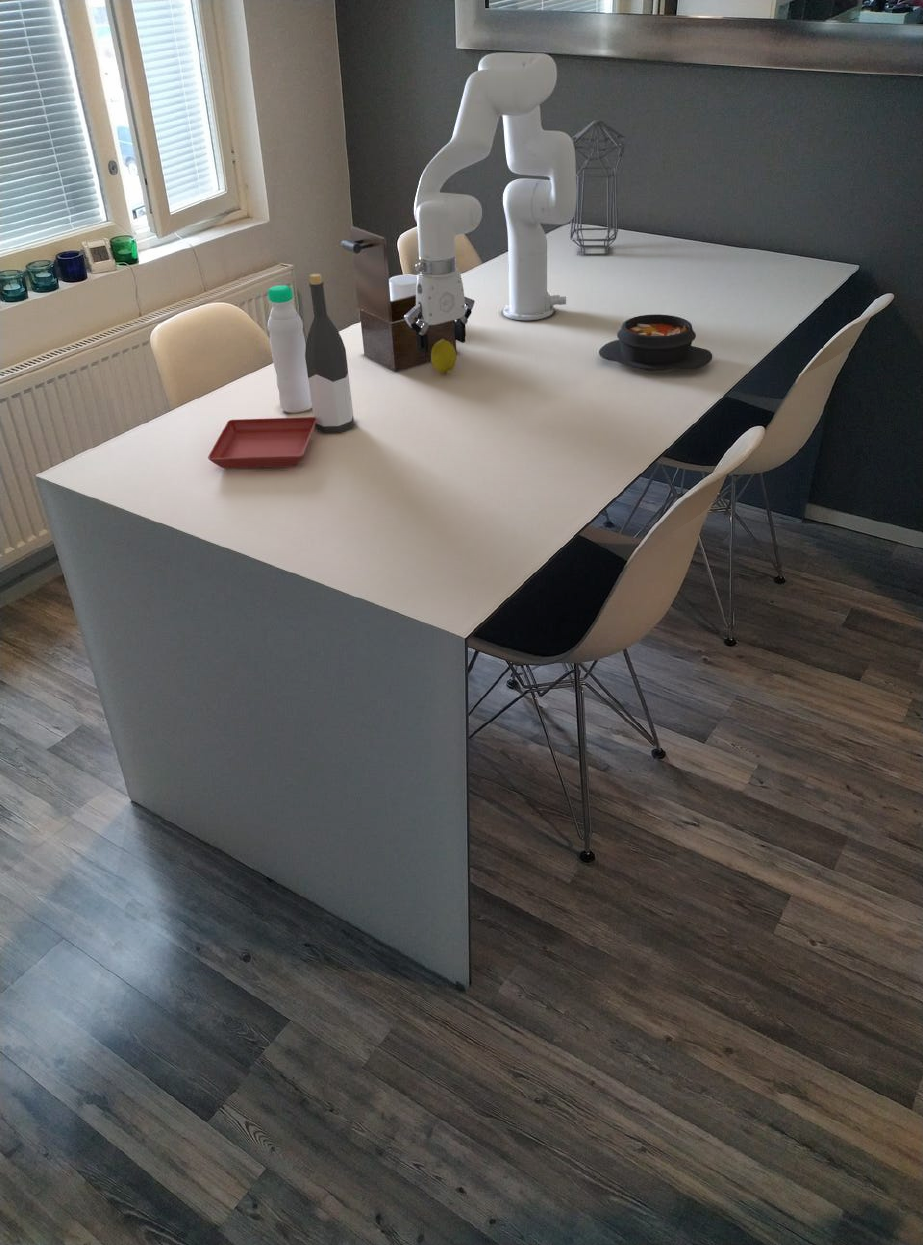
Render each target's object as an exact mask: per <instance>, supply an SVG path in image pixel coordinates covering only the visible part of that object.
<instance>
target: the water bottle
mask: <svg viewBox="0 0 923 1245" xmlns="http://www.w3.org/2000/svg"><path fill="white" fill-rule="evenodd" d="M267 295H268V300H269V303H270V304H271V305H272V308H271V310H270V313H269V318H268V320H267V330H268V333H269V342H270V350H271V356H272V362H273V366H274V367H273V368H274V371H275V375H276V387H277V390H278V397H279V398H278V400H279V406H280V408H281V410H283V411H284V412H285V413H291V414H297V413H305V412H307V411H309V410H310V409H311V408H312V402H311V395H310V388H309V381H308V374H307V367H306V360H305V349H306V339H305V334H304V330H303V328H304V323H303V320H302V318H301V316H300V314H299V313H298V312H297V310H296V308H295V307H294V306H293V301H294V299H293V298H294V294H293V289H292V287H291V286H289V285H285V284H284V285H283V284H282V285H280V284H279V285H274V286H272V287H270V288H269V289H268V290H267Z"/></svg>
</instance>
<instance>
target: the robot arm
mask: <svg viewBox="0 0 923 1245" xmlns="http://www.w3.org/2000/svg"><path fill="white" fill-rule="evenodd" d="M477 66H478V67H477V68H478V69H477V71H474V72H472V73H471V74H470V75H469V77H468V78H467V79H466V82H465V85H464V90H463V95H462V97H461V102H460V105H459V109H458V113H457V116H456V120H455V124H454V129H453V132H452V135H451V136H452V137H451V139H450V140H449V142H448V143H447V144H446V145H444V146H443V147H442V148H441V149H440V150H439V151H438V152H437V153H436V154H435V155H434V157H433V158H432V159H431V160H430V161H429V162H428V164H426V167H425V168H424V169H423V172H422V174H421V176H420V179H419V182H418V187H417V191H416V195H415V199H414V206H413V215H414V221H415V222H416V225H417V242H418V258H419V259H418V263H417V264H415V266H414V269H415V271H416V272H419V273H417V275H418V278H417V286H416V306H415V307H414V308H412V309H411V310H410V311H409V312H408V313H407V314H406V315H405V316H404V318H405V320H406V322H407V323H408V325H409V327H410V328H411V329H412V330H414V332H416V337H417V347H418V349H419V350H420V351H422V352H424V353H428V351H429V350H428V335H427V334H425V332H426V330H427V329H428V327H429V325H437V324H441V323H445V322H449V321H452V320H455V323H454V332H455V340H456V342H460V343H462V344H465V343H466V335H467V332H466V330H467V329H466V325H467V324H468V321H469V320H468V319H469V318H470V317H471V315H472V313H473V311H472V310H473V309H474V305H475V300H474V299H472V298H469V297H467V296H465V291H464V289H465V288H464V283H463V280H462V275H461V272H460V269H458V268H457V262H456V261H457V260H456V240H455V239H456V237H455V236H458V235H466V234H469V233H471V232H473V231H474V230H476V229H477V227H478V226H480V223H481V221H482V217H483V209H482V205H481V202H480V201H479V200H478V199H477V198H476V197H474V196H473V195H470V194H464V193H463V194H462V193H452V192H441V189H442V187H443V186H444V184H445V183H446V181H447V180H448V179H449V178H450V177H452V176H453V175H455V174H456V173H458V172H459V171H461V170H463V169H465V168H468V167H470V166H472V165H474V164H476V163H478V162H480V161H483V160H484V159H486V158H487V157H488V156H489V155H490V153H491V151H492V147H493V142H494V139H495V136H496V131H497V127H498V124H499V120H500V118H501V117H502V124H503V136H504V148H505V157H506V164H507V167H508V169H509V171H510V172H512V173H514V174H516V175H520V176H533V177H534V176H535V177H547V178H549V179H542V178H527V177H526V178H517V179H514V180H511V181H510V182H509V183H508V184H506V186H505V188H504V191H503V194H502V205H503V211H504V216H505V221H506V228H507V229H506V230H507V250H508V252H507V255H508V256H507V257H508V258H507V259H508V299H509V300H508V302H509V303H508V304H506V305H505V306H504V307H503V309H502V310H503V312H502V314H503V315H504V316H505V317H506V318H508V319H510V320H516V321H537V320H542V319H545V318H548V317H550V316H551V315H553V313H554V306H557V305H558V306H561V305H562V306H563V305H567V298H566V295H565V296H560V294H553V295H550V294H549V291H548V237H547V235H546V233H545V230H544V229H543V227H542V225H543V224H545V225H562V226H563V225H567V224H569V223H571V220H572V219H573V220H574V218H573V217H574V215H575V211H576V200H577V197H576V189H577V180H576V170H577V164H576V161H575V158H576V151H575V149H574V146H575V145H573V142H572V139H571V138H572V137H571V136H570V135H569V134H568V133H566V132H565V131H562V130H561V131H560V130H545V129H543V127H542V116H541V106H540V105H541V104H542V103H544V102H545V101H546V100H547V99H548V98H549V97H550V96H551V95H552V93H553V92H554V90H555V87H556V84H557V79H558V69H557V64H556V61H555V60H554V59H553V57H552V56H550V55H549V54H547V53H542V52H494V53H493V52H492V53H489V54H485V55H484V56H483V57H481V59H480V60H479V62H478V65H477ZM416 316H417V319H418V321H417V323H415V321H414V318H415V317H416Z"/></svg>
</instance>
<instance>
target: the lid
mask: <svg viewBox="0 0 923 1245" xmlns="http://www.w3.org/2000/svg"><path fill="white" fill-rule="evenodd" d="M349 232H350V233H349V234H350V240H349V239H347V238H346V239H343V240H342V241H341V248H342V249H343V250H346V251H348V252H351V254H352V263H353V264H352V265H353V275H354V284H355V294H356V306H357V308H358V309H362V310H364V311H366V312H369V313H371V314H373V315H375V316H377V317H379V318H381V319H384V320H386V321H388V322H392V311H391V298H390V285H389V279H390V273H389V262H388V261H389V260H388V250H387V238H386V237H385V236H381V235H379V234H376V233H373V232H371V231H368V230H365V229H362V228H360V227H358V226H354V225H351V226H349Z"/></svg>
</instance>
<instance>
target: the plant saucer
mask: <svg viewBox="0 0 923 1245" xmlns="http://www.w3.org/2000/svg"><path fill="white" fill-rule="evenodd" d="M316 421H317V418H316V417H314V416H311V417H309V416H308V417H307V416H305V417H276V418H275V417H274V418H272V417H271V418H244V419H229V420H227V421H226V424H225V426H224V427H223V429H222V430H221V433H220V435H219V436H218V438H217V440H216V441H215V443H214V445H213V447H212V449H211V450H210V453H209V454H208V456H207V459H208V460H209V461H210V462H211V463H213V464H214V465H216V466H218V467H220V468H222V469H250V468H251V469H252V468H253V469H257V468H288V467H297V466H298V465H299V464H300V463H301V461H302V460H303V457H304V455H305V453H306V450H307V447H308V444H309V442H310V439H311V436H312V434H313V431H314V429H315V424H316Z"/></svg>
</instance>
